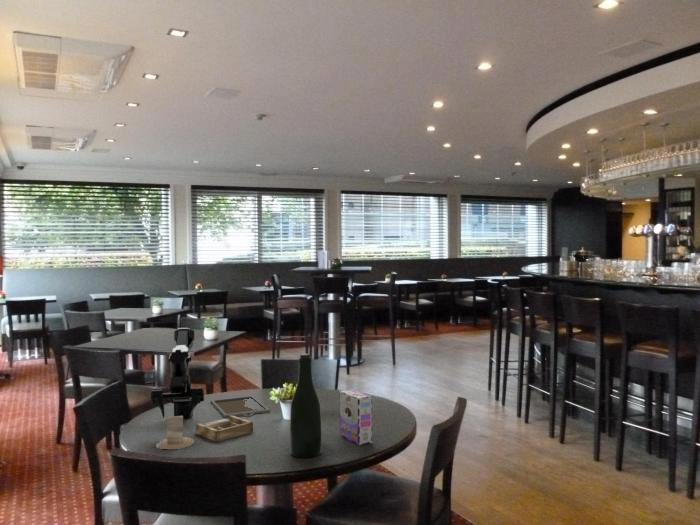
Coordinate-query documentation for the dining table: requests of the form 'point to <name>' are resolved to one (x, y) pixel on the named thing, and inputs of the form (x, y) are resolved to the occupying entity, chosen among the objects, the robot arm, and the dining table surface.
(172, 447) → the cork mat
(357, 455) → the dining table surface
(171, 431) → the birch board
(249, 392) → the dining table surface
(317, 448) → the green wine bottle
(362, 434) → the candy box
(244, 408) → the picture frame
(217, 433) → the frame
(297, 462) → the dining table surface
